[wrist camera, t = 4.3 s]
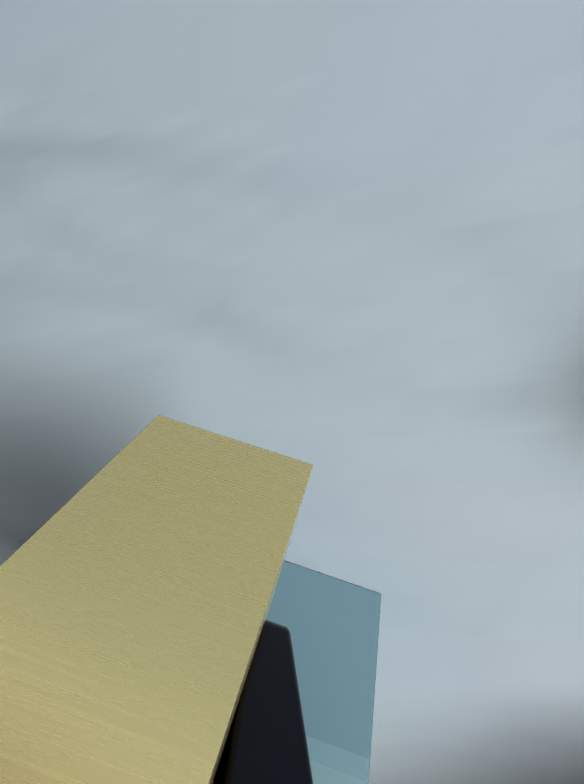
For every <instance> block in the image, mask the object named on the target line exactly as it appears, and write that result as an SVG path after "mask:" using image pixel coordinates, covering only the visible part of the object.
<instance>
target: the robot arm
mask: <svg viewBox="0 0 584 784" xmlns="http://www.w3.org/2000/svg"><path fill="white" fill-rule="evenodd" d="M214 784H313V778H312V771H311V765H310V758H309V752H308V745H307V739H306V732H305V725H304V719H303V712H302V706H301V699H300V693H299V686H298V680H297V673H296V666H295V660H294V653H293V647H292V640H291V634H290V631H289V629H288V628H287V627H286V626H283V625H281V624H278V623H275V622H272V621H269V620H265V622H264V625H263V628H262V631H261V634H260V637H259V640H258V643H257V646H256V649H255V652H254V655H253V658H252V662H251V665H250V668H249V671H248V674H247V677H246V680H245V683H244V686H243V689H242V692H241V695H240V698H239V702H238V705H237V708H236V711H235V714H234V718H233V721H232V724H231V728H230V731H229V734H228V738H227V741H226V744H225V748H224V751H223V754H222V758H221V761H220V764H219V768H218V771H217V774H216V778H215V781H214Z"/></svg>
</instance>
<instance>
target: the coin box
mask: <svg viewBox="0 0 584 784" xmlns="http://www.w3.org/2000/svg"><path fill="white" fill-rule="evenodd" d="M380 604H381V594H379V593H376V592H373V591H371V590H368V589H365V588H362V587H359V586H356V585H353V584H350V583H347V582H344V581H342V580H339V579H336V578H333V577H330V576H327V575H324V574H321V573H318V572H315V571H313V570H310V569H307V568H304V567H301V566H298V565H295V564H292V563H289V562H286V561H284V563H283V566H282V569H281V573H280V576H279V579H278V582H277V586H276V589H275V592H274V596H273V599H272V602H271V606H270V609H269V612H268V615H267V619H266V620H269V621H272V622H275V623H278V624H281V625H283V626H286V627H287V628H288V629H289V631H290V634H291V640H292V647H293V653H294V660H295V666H296V673H297V680H298V686H299V693H300V699H301V706H302V712H303V719H304V725H305V732H306V739H307V745H308V752H309V758H310V765H311V771H312V778H313V784H368V782H369V768H370V753H371V738H372V723H373V708H374V694H375V679H376V664H377V649H378V634H379V619H380Z"/></svg>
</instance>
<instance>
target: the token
mask: <svg viewBox="0 0 584 784" xmlns="http://www.w3.org/2000/svg"><path fill="white" fill-rule="evenodd" d="M312 467H313V465H312V464H309V463H306V462H303V461H300V460H296V459H293V458H290V457H287V456H284V455H281V454H278V453H275V452H271V451H268V450H265V449H262V448H259V447H256V446H253V445H250V444H247V443H243V442H240V441H237V440H234V439H231V438H228V437H225V436H222V435H218V434H215V433H212V432H209V431H206V430H203V429H200V428H197V427H194V426H190V425H187V424H184V423H181V422H178V421H175V420H172V419H169V418H165V417H162V416H159V415H158V416H157V417H156V418H155V419H154V420H153V421H152V422H151V423H150V424H149V425H148V426H147V427H146V428H144V429H143V430H142V431H141V432H140V433H139V434H138V435H137V436H136V437H135V438H134V439H133V440H132V441H131V442H130V443H129V444H128V445H127V446H126V447H125V448H124V449H123V450H121V451H120V452H119V453H118V454H117V455H116V456H115V457H114V458H113V459H112V460H111V461H110V462H109V463H108V464H107V465H106V466H105V467H104V468H103V469H102V470H101V471H99V472H98V473H97V474H96V475H95V476H94V477H93V478H92V479H91V480H90V481H89V482H88V483H87V484H86V485H85V486H84V487H83V488H82V489H81V490H80V491H79V492H78V493H76V494H75V495H74V496H73V497H72V498H71V499H70V500H69V501H68V502H67V503H66V504H65V505H64V506H63V507H62V508H61V509H60V510H59V511H58V512H57V513H56V514H55V515H53V516H52V517H51V518H50V519H49V520H48V521H47V522H46V523H45V524H44V525H43V526H42V527H41V528H40V529H39V530H38V531H37V532H36V533H35V534H34V535H33V536H32V537H30V538H29V539H28V540H27V541H26V542H25V543H24V544H23V545H22V546H21V547H20V548H19V549H18V550H17V551H16V552H15V553H14V554H13V555H12V556H11V557H10V558H9V559H7V560H6V561H5V562H4V563H3V564H2V565H1V566H0V784H214V781H215V778H216V774H217V771H218V768H219V764H220V761H221V758H222V754H223V751H224V748H225V744H226V741H227V738H228V734H229V731H230V728H231V724H232V721H233V718H234V714H235V711H236V708H237V705H238V702H239V698H240V695H241V692H242V689H243V686H244V683H245V680H246V677H247V674H248V671H249V668H250V665H251V662H252V658H253V655H254V652H255V649H256V646H257V643H258V640H259V637H260V634H261V631H262V628H263V625H264V622H265V620H266V619H267V615H268V612H269V609H270V606H271V602H272V599H273V596H274V592H275V589H276V586H277V582H278V579H279V576H280V573H281V569H282V566H283V563H284V559H285V556H286V553H287V549H288V546H289V543H290V540H291V536H292V533H293V530H294V526H295V523H296V520H297V516H298V513H299V510H300V506H301V503H302V500H303V497H304V493H305V490H306V487H307V483H308V480H309V477H310V473H311V470H312Z"/></svg>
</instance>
